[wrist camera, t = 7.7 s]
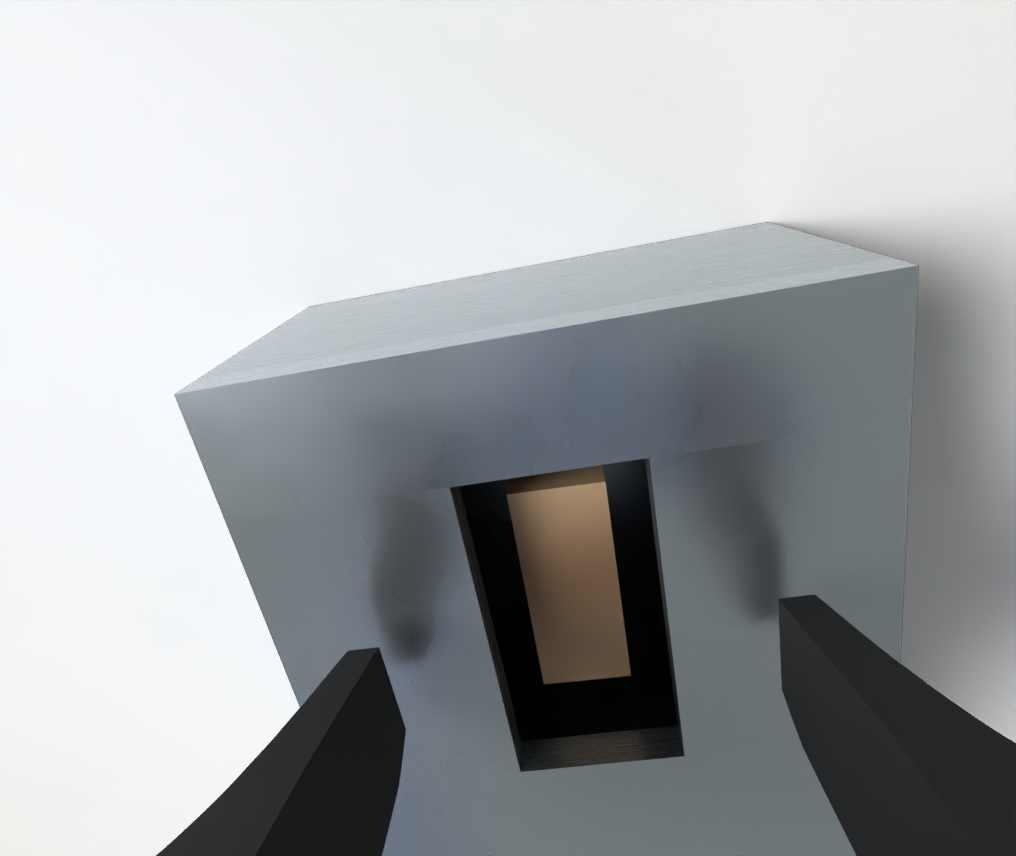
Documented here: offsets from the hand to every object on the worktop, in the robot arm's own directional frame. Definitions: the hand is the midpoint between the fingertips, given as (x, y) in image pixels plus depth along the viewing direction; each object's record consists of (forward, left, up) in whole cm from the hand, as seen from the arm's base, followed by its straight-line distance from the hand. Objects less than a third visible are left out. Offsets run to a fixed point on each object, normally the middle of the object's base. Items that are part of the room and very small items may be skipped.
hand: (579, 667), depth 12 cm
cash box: (-3, 0, -8) cm, 8 cm away
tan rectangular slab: (0, 0, -7) cm, 7 cm away
